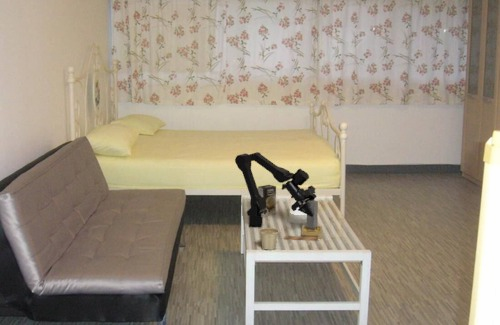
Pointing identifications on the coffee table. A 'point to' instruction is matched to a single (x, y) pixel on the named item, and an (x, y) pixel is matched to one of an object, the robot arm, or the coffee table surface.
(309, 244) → the coffee table surface
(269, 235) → the flower pot
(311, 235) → the keeper
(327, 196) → the coffee table surface
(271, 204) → the coffee box
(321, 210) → the coffee table surface
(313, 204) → the bar
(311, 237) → the door edge strip
